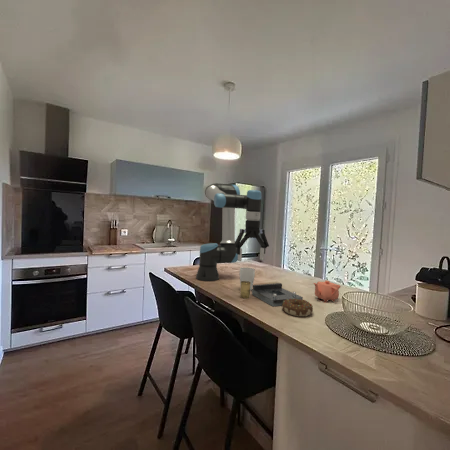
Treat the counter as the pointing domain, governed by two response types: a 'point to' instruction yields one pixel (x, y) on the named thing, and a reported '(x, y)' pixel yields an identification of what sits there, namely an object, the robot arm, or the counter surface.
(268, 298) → the jig
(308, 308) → the donut
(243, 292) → the amber grooved cylinder
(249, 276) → the cup
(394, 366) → the counter surface
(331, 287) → the pink piggy bank
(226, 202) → the robot arm
